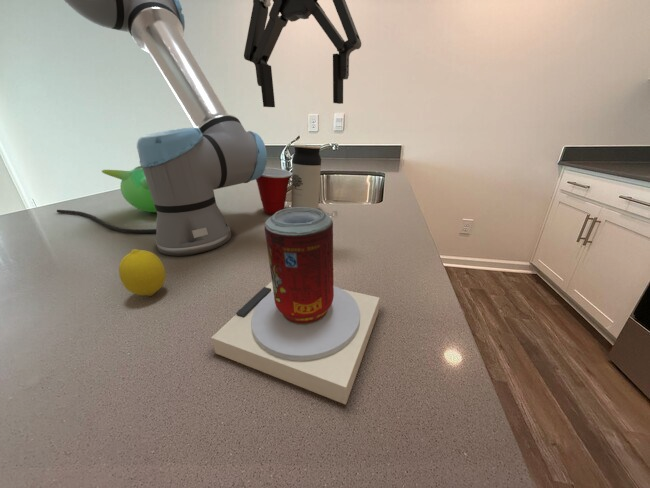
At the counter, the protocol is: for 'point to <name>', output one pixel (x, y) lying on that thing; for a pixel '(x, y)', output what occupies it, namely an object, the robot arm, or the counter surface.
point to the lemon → (142, 272)
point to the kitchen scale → (302, 342)
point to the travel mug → (306, 176)
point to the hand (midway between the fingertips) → (301, 105)
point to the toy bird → (134, 188)
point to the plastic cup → (273, 189)
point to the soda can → (301, 263)
